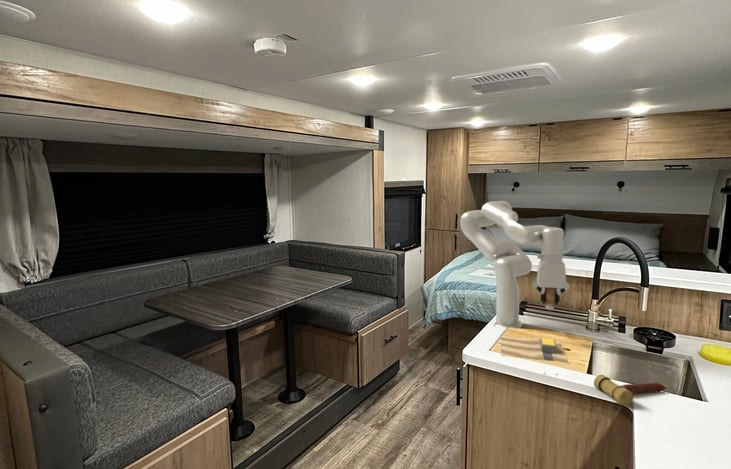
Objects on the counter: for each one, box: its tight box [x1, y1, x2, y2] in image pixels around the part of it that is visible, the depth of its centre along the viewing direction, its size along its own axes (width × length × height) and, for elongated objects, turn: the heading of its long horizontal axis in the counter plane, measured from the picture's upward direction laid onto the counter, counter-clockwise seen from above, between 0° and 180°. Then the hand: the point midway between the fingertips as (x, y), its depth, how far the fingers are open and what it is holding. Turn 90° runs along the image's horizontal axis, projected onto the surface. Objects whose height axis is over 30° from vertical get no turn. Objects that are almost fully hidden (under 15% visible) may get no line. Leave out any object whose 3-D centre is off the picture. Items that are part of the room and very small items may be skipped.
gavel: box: [593, 374, 669, 406], centre depth 115 cm, size 21×5×10 cm
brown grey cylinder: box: [544, 288, 556, 311], centre depth 154 cm, size 4×4×9 cm
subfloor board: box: [500, 336, 569, 364], centre depth 146 cm, size 19×22×2 cm
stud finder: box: [539, 337, 557, 354], centre depth 144 cm, size 7×5×3 cm
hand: (549, 302), depth 154 cm, fingers closed on brown grey cylinder, 4 cm apart
